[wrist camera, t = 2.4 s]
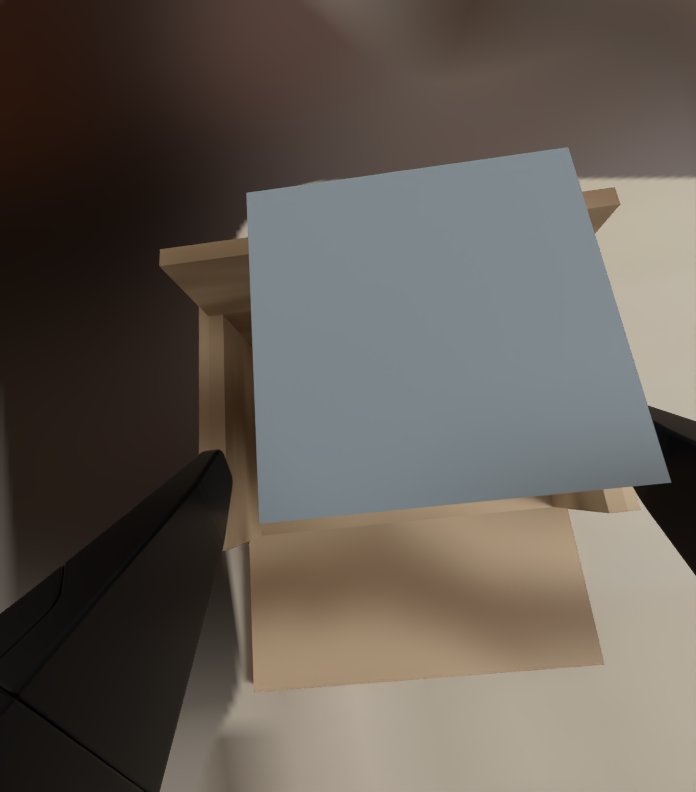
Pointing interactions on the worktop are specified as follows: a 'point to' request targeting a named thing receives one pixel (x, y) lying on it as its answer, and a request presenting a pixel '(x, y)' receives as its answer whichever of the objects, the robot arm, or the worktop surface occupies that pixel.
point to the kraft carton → (385, 540)
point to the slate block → (438, 343)
